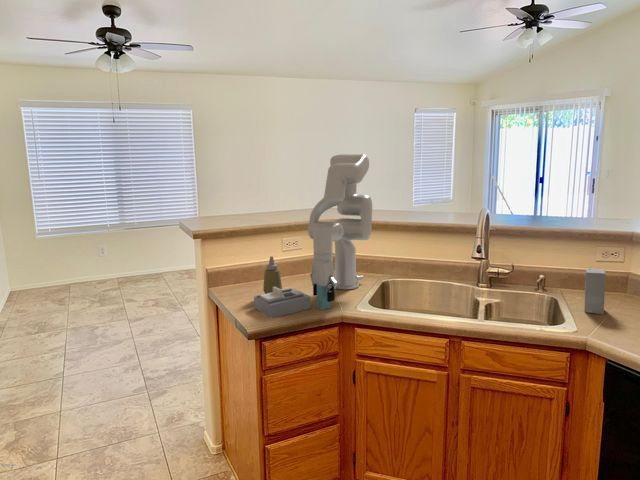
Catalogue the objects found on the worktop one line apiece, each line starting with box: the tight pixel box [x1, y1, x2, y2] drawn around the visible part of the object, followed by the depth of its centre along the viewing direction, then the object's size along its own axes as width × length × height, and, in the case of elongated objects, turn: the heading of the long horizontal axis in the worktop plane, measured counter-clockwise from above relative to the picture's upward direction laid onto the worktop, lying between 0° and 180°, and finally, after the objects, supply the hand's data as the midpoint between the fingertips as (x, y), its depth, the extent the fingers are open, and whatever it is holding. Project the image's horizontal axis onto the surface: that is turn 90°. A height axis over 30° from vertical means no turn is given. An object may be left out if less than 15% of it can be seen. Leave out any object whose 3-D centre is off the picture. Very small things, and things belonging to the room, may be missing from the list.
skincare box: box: [584, 268, 607, 315], centre depth 177 cm, size 8×7×16 cm
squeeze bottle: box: [263, 256, 283, 294], centre depth 199 cm, size 8×8×18 cm
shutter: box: [259, 287, 285, 301], centre depth 183 cm, size 7×7×3 cm
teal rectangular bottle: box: [316, 283, 332, 310], centre depth 186 cm, size 4×4×12 cm
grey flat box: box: [253, 288, 312, 319], centre depth 186 cm, size 18×14×6 cm
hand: (323, 298), depth 186 cm, fingers open, 9 cm apart
